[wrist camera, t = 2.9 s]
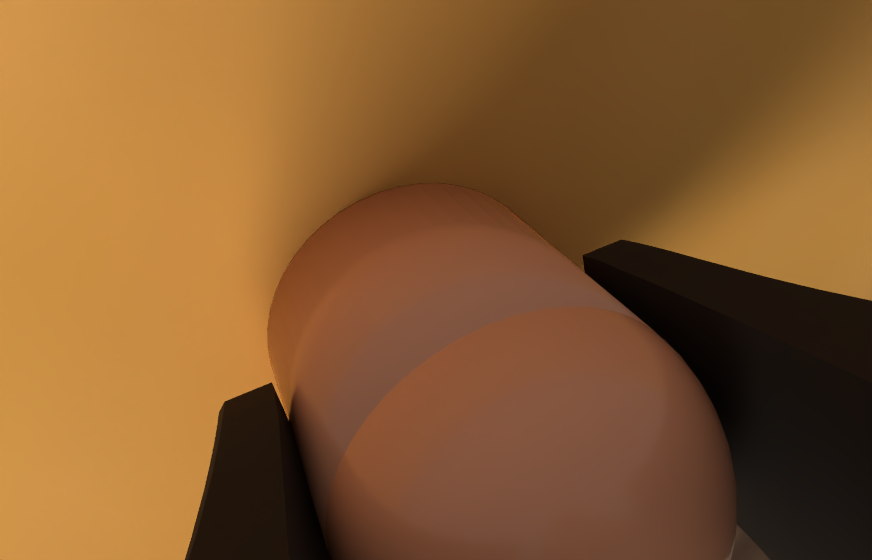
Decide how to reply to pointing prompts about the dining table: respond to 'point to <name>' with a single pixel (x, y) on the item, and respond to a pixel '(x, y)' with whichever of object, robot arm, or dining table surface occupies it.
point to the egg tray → (746, 548)
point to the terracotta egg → (487, 396)
